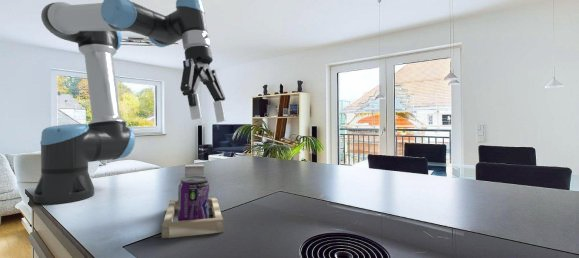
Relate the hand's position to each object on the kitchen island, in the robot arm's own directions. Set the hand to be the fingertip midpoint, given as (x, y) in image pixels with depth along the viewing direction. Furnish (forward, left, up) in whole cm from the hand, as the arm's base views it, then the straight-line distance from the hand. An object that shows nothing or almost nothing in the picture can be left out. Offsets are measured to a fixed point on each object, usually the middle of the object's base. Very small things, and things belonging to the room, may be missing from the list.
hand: (210, 120), depth 79 cm
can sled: (+7, -4, -26) cm, 27 cm away
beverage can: (+12, -4, -26) cm, 29 cm away
